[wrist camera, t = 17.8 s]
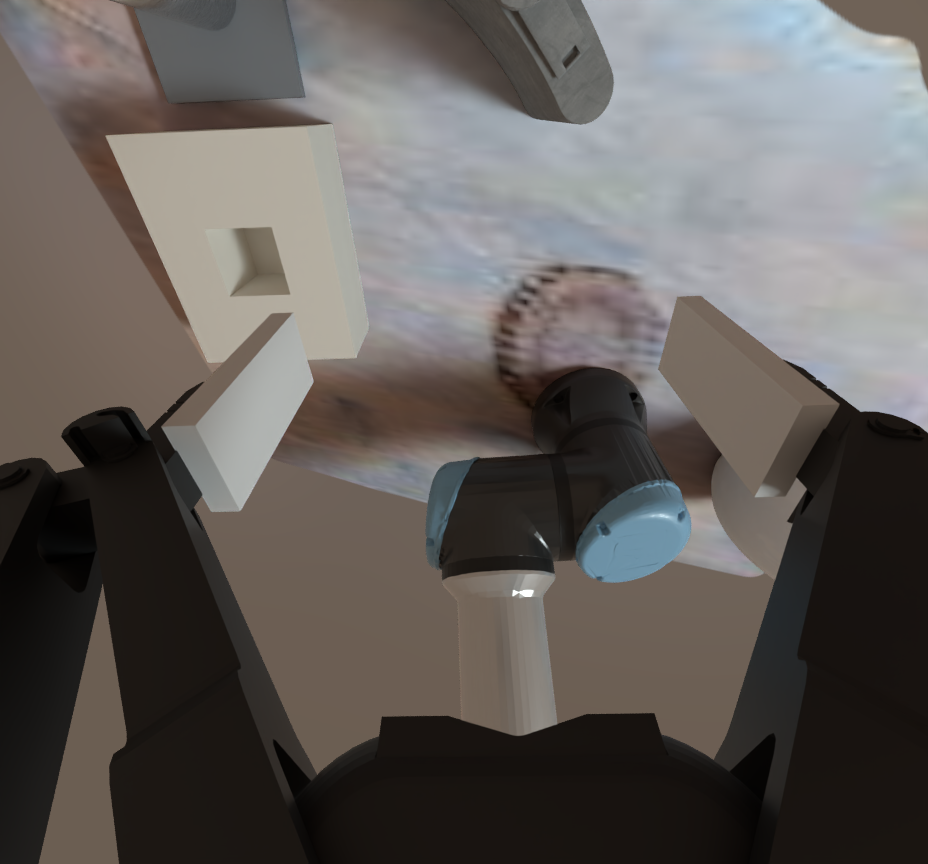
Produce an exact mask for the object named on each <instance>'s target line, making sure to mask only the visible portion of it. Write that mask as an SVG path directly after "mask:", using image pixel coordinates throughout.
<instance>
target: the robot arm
mask: <svg viewBox="0 0 928 864" xmlns="http://www.w3.org/2000/svg"><path fill="white" fill-rule="evenodd" d="M658 370H659V371H660V372H661V374H662V375H663V376H664V378H665V379H666V380H667V382H668V383H669V384H670V386H671V387H672V388H673V390H674V391H675V392H676V394H677V395H678V396H679V398H680V399H681V400H682V402H683V403H684V404H685V406H686V407H687V408H688V410H689V411H690V412H691V414H692V415H693V416H694V418H695V419H696V420H697V422H698V423H699V424H700V426H701V427H702V428H703V429H704V431H705V432H706V433H707V435H708V436H709V437H710V439H711V440H712V441H713V443H714V444H715V445H716V447H717V448H718V449H719V451H720V452H721V453H722V455H723V456H724V457H725V459H726V460H727V461H728V463H729V464H730V465H731V467H732V468H733V469H734V471H735V472H736V473H737V475H738V476H739V477H740V479H741V480H742V481H743V483H744V484H745V485H746V487H747V488H748V489H749V491H750V492H751V493H752V495H753V496H754V497H784V496H786V495H787V493H788V492H789V490H790V488H791V486H792V485H793V483H794V481H795V480H796V478H797V479H798V480H799V481H800V482H801V483H802V484H803V485H804V486H805V487H806V489H807V490H806V491H805V493H804V495H803V496H802V498H801V499H800V501H799V503H798V504H797V506H796V507H795V509H794V511H793V512H792V514H791V515H790V517H789V519H788V520H787V522H789V523H791V524H792V523H793V524H792V527H791V531H790V534H789V537H788V540H787V544H786V547H785V550H784V553H783V556H782V560H781V563H780V566H779V569H778V573H777V576H776V579H775V582H774V585H773V589H772V592H771V595H770V598H769V602H768V605H767V608H766V611H765V615H764V618H763V621H762V624H761V627H760V631H759V634H758V637H757V641H756V644H755V647H754V650H753V653H752V657H751V660H750V663H749V666H748V669H747V673H746V676H745V679H744V682H743V686H742V689H741V692H740V695H739V698H738V702H737V705H736V708H735V711H734V715H733V718H732V721H731V724H730V727H729V730H728V733H727V735H726V737H725V740H724V741H723V743H722V745H721V747H720V749H719V751H718V753H717V754H716V756H715V759H714V760H713V759H711V758H710V757H708V756H707V755H705V754H703V753H701V752H700V751H698V750H696V749H694V748H693V747H691V746H689V745H687V744H685V743H682V742H680V741H678V740H675V739H673V738H671V737H668V736H664V735H661V733H660V730H659V727H658V723H657V720H656V717H655V714H654V713H645V714H644V713H642V714H586V715H583V716H580V717H577V718H574V719H571V720H568V721H565V722H562V723H559V724H557V717H556V708H555V700H554V691H553V683H552V674H551V666H550V657H549V649H548V640H547V633H546V623H545V615H544V606H543V596H544V594H545V592H546V591H547V590H548V588H549V587H550V585H551V584H552V583H553V581H554V580H555V572H554V565H553V562H554V561H568V560H570V561H571V560H576V561H577V563H578V566H579V567H580V568H581V569H582V571H583V572H584V573H585V574H587V576H589V577H591V578H597V580H599V581H603V582H625V581H630V580H635V579H638V578H641V577H644V576H646V575H649V574H651V573H653V572H655V571H657V570H659V569H660V568H662V567H663V566H664V565H666V564H667V563H669V562H671V561H672V560H673V559H674V558H675V557H676V556H677V555H678V554H679V553H680V552H681V551H682V549H683V548H684V547H685V545H686V543H687V541H688V539H689V536H690V533H691V518H690V515H689V512H688V510H687V508H686V505H685V503H684V501H683V498H682V494H681V491H680V489H679V487H678V486H677V485H676V484H675V483H674V481H673V480H672V478H671V476H670V474H669V473H668V471H667V469H666V468H665V466H664V464H663V462H662V461H661V459H660V457H659V455H658V454H657V452H656V450H655V448H654V447H653V445H652V443H651V441H650V440H649V438H648V436H647V414H646V406H645V403H644V400H643V398H642V396H641V394H640V393H639V391H638V389H637V388H636V386H635V385H634V384H633V382H632V381H631V380H629V379H628V378H627V377H626V376H624V375H622V374H620V373H618V372H615V371H612V370H608V369H601V368H591V369H583V370H579V371H575V372H572V373H569V374H567V375H565V376H563V377H561V378H559V379H558V380H556V381H555V382H553V383H552V384H551V385H549V386H548V387H547V388H546V389H545V390H544V391H543V392H542V394H541V395H540V396H539V398H538V399H537V401H536V403H535V405H534V408H533V411H532V417H531V423H532V429H533V434H534V438H535V441H536V443H537V445H538V447H539V448H540V450H541V451H542V452H543V453H544V454H538V455H524V456H508V457H493V458H479V457H475V458H473V459H471V460H464V461H455V462H449V463H446V464H444V465H443V466H442V467H440V469H439V470H438V471H437V473H436V475H435V477H434V479H433V482H432V485H431V489H430V494H429V500H428V507H427V516H426V536H427V539H426V555H427V560H428V563H429V565H430V566H431V567H432V568H436V569H437V570H441V569H442V585H443V586H444V587H445V588H446V589H447V590H448V591H449V593H450V594H451V595H452V596H453V597H454V598H455V599H456V601H457V603H458V632H459V660H460V661H459V663H460V692H461V693H460V694H461V720H460V719H456V718H453V717H450V716H405V717H404V716H401V717H382V720H381V727H380V734H379V737H376V738H373V739H370V740H368V741H366V742H364V743H362V744H360V745H358V746H356V747H353V748H352V749H350V750H349V751H347V752H346V753H344V754H342V755H341V756H339V757H338V758H336V759H335V760H334V761H333V762H332V763H330V764H329V765H328V766H327V767H325V768H324V769H323V770H322V771H321V772H320V773H319V774H318V775H317V774H316V772H315V770H314V768H313V766H312V764H311V762H310V760H309V758H308V757H307V755H306V753H305V751H304V749H303V748H302V746H301V744H300V742H299V740H298V739H297V737H296V734H295V732H294V730H293V728H292V725H291V723H290V721H289V719H288V716H287V714H286V712H285V710H284V707H283V705H282V703H281V701H280V698H279V696H278V694H277V691H276V689H275V687H274V684H273V682H272V680H271V678H270V675H269V673H268V671H267V669H266V666H265V664H264V662H263V660H262V657H261V655H260V653H259V651H258V648H257V646H256V644H255V641H254V639H253V637H252V635H251V632H250V630H249V628H248V626H247V623H246V621H245V619H244V616H243V614H242V612H241V610H240V607H239V605H238V603H237V601H236V598H235V596H234V594H233V592H232V589H231V587H230V585H229V582H228V580H227V578H226V576H225V573H224V571H223V569H222V567H221V564H220V562H219V560H218V558H217V556H216V553H215V551H214V548H213V546H212V544H211V542H210V539H209V537H208V535H207V533H206V530H205V528H204V526H203V524H202V521H201V519H200V517H199V515H198V513H197V512H196V510H195V509H194V506H195V505H196V503H197V502H198V501H199V499H200V498H201V496H202V497H203V499H204V500H205V502H206V503H207V505H208V507H209V509H210V510H211V512H226V511H241V509H242V507H243V505H244V504H245V502H246V500H247V498H248V497H249V495H250V493H251V491H252V490H253V488H254V486H255V484H256V483H257V481H258V479H259V477H260V475H261V474H262V472H263V470H264V468H265V467H266V465H267V463H268V461H269V459H270V458H271V456H272V454H273V453H274V451H275V449H276V447H277V446H278V444H279V442H280V440H281V438H282V437H283V435H284V433H285V431H286V430H287V428H288V426H289V424H290V423H291V421H292V419H293V417H294V416H295V414H296V412H297V410H298V409H299V407H300V405H301V403H302V402H303V400H304V398H305V396H306V394H307V393H308V391H309V389H310V387H311V386H312V384H313V382H314V381H313V377H312V374H311V371H310V367H309V364H308V360H307V357H306V354H305V350H304V347H303V344H302V340H301V337H300V333H299V330H298V327H297V323H296V320H295V316H294V313H293V312H292V313H271V314H270V315H269V316H268V317H267V318H266V319H265V321H264V322H263V323H262V324H261V325H260V326H259V327H258V328H257V329H256V330H255V331H254V332H253V333H252V334H251V335H250V336H249V337H248V338H247V339H246V340H245V341H244V342H243V343H242V344H241V345H240V346H239V347H238V348H237V349H236V350H235V351H234V352H233V353H232V354H231V355H230V356H229V358H228V359H227V360H226V361H225V362H224V363H223V364H222V365H221V366H220V367H219V368H218V369H217V370H216V371H215V372H214V373H213V374H212V375H211V376H210V377H209V378H208V379H207V380H206V381H205V382H202V383H200V384H198V385H196V386H195V387H193V388H191V389H190V390H188V391H186V392H185V393H184V394H183V395H182V396H181V397H180V398H179V399H178V400H177V401H176V404H173V405H172V406H171V407H170V408H169V409H168V410H167V411H168V412H167V413H164V414H163V415H162V416H161V417H160V418H159V419H158V420H157V421H156V422H155V423H154V424H153V425H152V426H151V427H150V428H149V429H148V430H147V431H146V430H145V428H144V427H143V425H142V423H141V422H140V420H139V419H138V417H137V416H136V414H135V412H134V411H133V410H132V409H131V408H127V407H112V408H107V409H103V410H98V411H95V412H93V413H90V414H88V415H86V416H83V417H81V418H79V419H77V420H76V421H74V422H72V423H71V424H70V425H69V426H68V427H66V428H65V429H64V430H63V433H62V438H63V439H64V441H65V442H66V443H67V445H68V446H69V447H70V448H71V450H72V451H73V452H74V454H75V455H76V456H77V457H78V459H79V460H80V461H81V463H82V464H83V465H84V467H82V468H77V469H73V470H68V471H64V472H59V473H56V472H55V471H54V470H53V469H52V468H51V466H50V465H49V464H48V463H47V462H46V461H45V460H43V459H41V458H28V459H23V460H18V461H15V462H12V463H6V464H3V465H1V466H0V864H38V863H39V859H40V855H41V850H42V846H43V842H44V837H45V833H46V828H47V824H48V820H49V815H50V811H51V807H52V802H53V798H54V794H55V789H56V785H57V780H58V776H59V771H60V767H61V763H62V759H63V754H64V750H65V745H66V741H67V737H68V732H69V728H70V723H71V719H72V715H73V711H74V706H75V702H76V698H77V693H78V689H79V684H80V680H81V675H82V671H83V667H84V663H85V658H86V653H87V649H88V645H89V641H90V636H91V632H92V628H93V623H94V619H95V615H96V610H97V606H98V601H99V597H100V593H101V588H102V584H103V587H104V593H105V599H106V605H107V611H108V618H109V624H110V631H111V637H112V643H113V649H114V656H115V662H116V668H117V675H118V681H119V687H120V694H121V700H122V706H123V712H124V719H125V725H126V731H127V742H126V745H125V747H123V748H122V749H120V750H119V751H117V752H116V753H115V754H113V757H112V760H111V763H110V766H109V773H110V791H111V799H112V808H113V816H114V825H115V832H116V841H117V850H118V857H119V864H928V433H927V432H926V431H925V430H923V429H922V428H921V427H920V426H918V425H916V424H914V423H912V422H910V421H908V420H906V419H903V418H900V417H897V416H894V415H891V414H885V413H880V412H865V411H864V412H860V411H859V410H857V409H856V408H855V407H853V406H852V405H851V404H849V403H848V402H847V401H845V400H844V399H843V398H841V397H840V396H839V395H837V394H836V393H835V392H834V391H832V390H831V389H827V386H826V385H824V384H823V383H822V382H820V381H819V380H816V378H815V377H814V376H812V375H811V374H810V373H808V372H807V371H806V370H804V369H803V368H801V367H799V366H797V365H794V364H792V363H790V362H788V361H785V360H782V359H781V358H780V357H778V356H777V355H776V354H774V353H773V352H772V351H771V350H769V349H768V348H767V347H765V346H764V345H763V344H762V343H760V342H759V341H758V340H756V339H755V338H754V337H753V336H751V335H750V334H749V333H747V332H746V331H745V330H744V329H742V328H741V327H740V326H739V325H737V324H736V323H735V322H733V321H732V320H731V319H730V318H728V317H727V316H726V315H724V314H723V313H722V312H721V311H719V310H718V309H717V308H715V307H714V306H713V305H712V304H710V303H709V302H708V301H706V300H705V299H704V298H703V297H701V296H687V297H677V301H676V304H675V308H674V312H673V316H672V319H671V323H670V327H669V331H668V335H667V338H666V342H665V346H664V350H663V353H662V357H661V361H660V365H659V369H658Z"/></svg>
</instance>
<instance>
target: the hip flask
mask: <svg viewBox="0 0 928 864" xmlns="http://www.w3.org/2000/svg"><path fill="white" fill-rule="evenodd" d="M445 1H446V2H447V3H448V4H449V5H450V6H451V7H452V8H453V9H454V10H455V11H456V12H457V13H458V14H459V15H460V16H461V17H462V18H463V19H464V20H465V21H466V23H467V24H468V25H469V26H470V27H471V28H472V30H473V31H474V32H475V33H476V34H477V36H478V37H479V38H480V39H481V41H482V42H483V43H484V44H485V46H486V47H487V48H488V50H489V51H490V52H491V53H492V55H493V56H494V58H495V59H496V60H497V62H498V63H499V64H500V66H501V67H502V69H503V70H504V72H505V73H506V75H507V77H508V78H509V80H510V81H511V83H512V85H513V86H514V88H515V90H516V92H517V93H518V95H519V97H520V99H521V101H522V103H523V105H524V107H525V109H526V111H527V112H528V114H529V115H530V116H531V117H533V118H535V119H539V120H548V121H556V122H564V123H572V124H587V123H590V122H592V121H594V120H595V119H597V118H598V117H599V116H600V115H601V114H602V113H603V112H604V110H605V109H606V107H607V106H608V104H609V102H610V99H611V96H612V92H613V84H614V81H613V73H612V69H611V67H610V64H609V62H608V59H607V57H606V54H605V52H604V49H603V47H602V44H601V42H600V40H599V37H598V35H597V33H596V30H595V28H594V26H593V24H592V21H591V19H590V17H589V15H588V13H587V11H586V9H585V7H584V5H583V3H582V1H581V0H445Z"/></svg>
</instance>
